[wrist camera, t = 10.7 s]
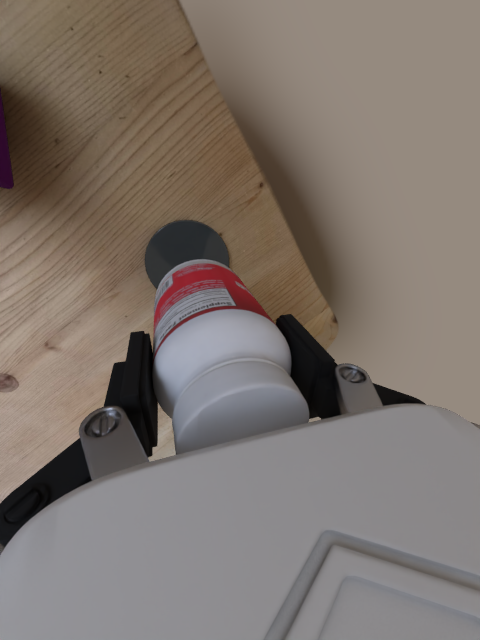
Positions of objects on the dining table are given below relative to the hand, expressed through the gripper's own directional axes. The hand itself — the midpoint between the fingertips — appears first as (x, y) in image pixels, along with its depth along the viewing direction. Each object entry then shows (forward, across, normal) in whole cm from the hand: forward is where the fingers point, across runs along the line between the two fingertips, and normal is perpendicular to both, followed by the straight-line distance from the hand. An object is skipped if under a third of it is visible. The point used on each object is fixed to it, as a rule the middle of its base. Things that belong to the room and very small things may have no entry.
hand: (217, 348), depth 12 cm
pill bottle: (+6, 0, 0) cm, 6 cm away
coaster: (+14, 0, 0) cm, 14 cm away
